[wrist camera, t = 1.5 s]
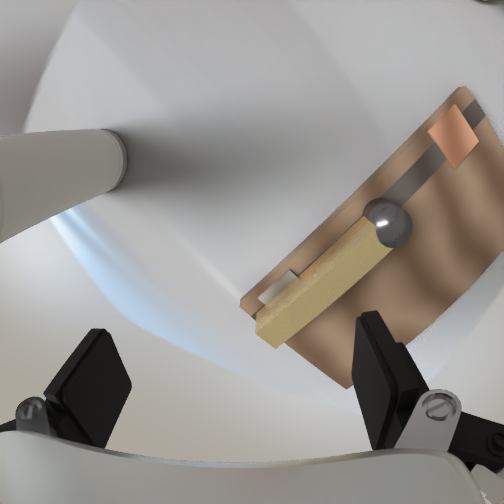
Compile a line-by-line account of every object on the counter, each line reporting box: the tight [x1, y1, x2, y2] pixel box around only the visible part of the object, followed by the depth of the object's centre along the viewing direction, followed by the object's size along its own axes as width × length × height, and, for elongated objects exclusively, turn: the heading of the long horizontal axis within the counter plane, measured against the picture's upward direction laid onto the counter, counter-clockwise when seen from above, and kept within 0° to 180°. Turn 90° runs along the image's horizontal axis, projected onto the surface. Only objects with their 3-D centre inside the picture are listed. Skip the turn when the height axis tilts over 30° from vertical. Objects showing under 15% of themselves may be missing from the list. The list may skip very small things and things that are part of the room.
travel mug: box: [0, 129, 127, 243], centre depth 16 cm, size 6×7×20 cm
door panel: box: [240, 86, 504, 389], centre depth 27 cm, size 31×17×2 cm, turn 137°
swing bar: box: [255, 198, 413, 349], centre depth 25 cm, size 16×3×4 cm, turn 137°
